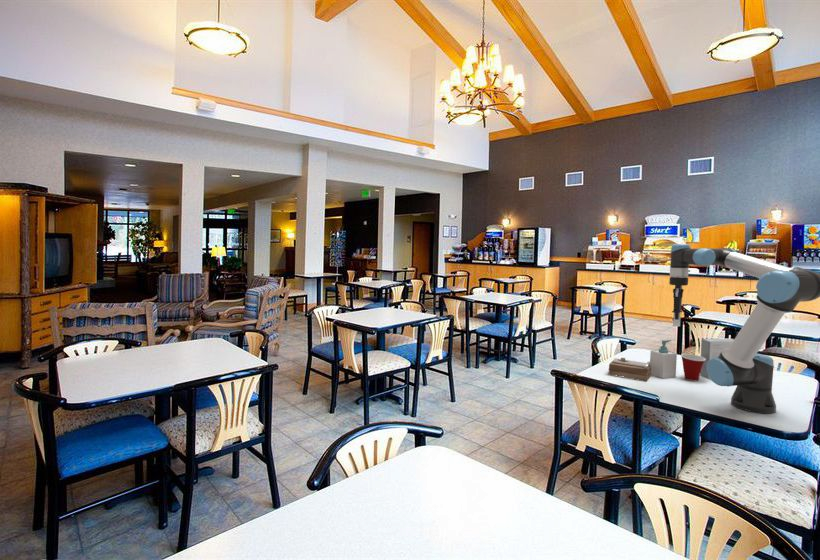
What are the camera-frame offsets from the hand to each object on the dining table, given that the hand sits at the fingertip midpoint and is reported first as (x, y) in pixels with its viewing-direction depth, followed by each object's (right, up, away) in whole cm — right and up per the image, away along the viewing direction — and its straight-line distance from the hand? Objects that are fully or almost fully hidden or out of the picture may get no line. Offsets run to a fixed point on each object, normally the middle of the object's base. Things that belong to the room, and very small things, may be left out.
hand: (676, 325), depth 207 cm
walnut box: (-11, -29, +23) cm, 38 cm away
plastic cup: (+18, -29, +16) cm, 38 cm away
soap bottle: (+6, -29, +23) cm, 37 cm away
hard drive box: (+34, -29, +19) cm, 49 cm away
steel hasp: (-10, -22, +22) cm, 33 cm away
